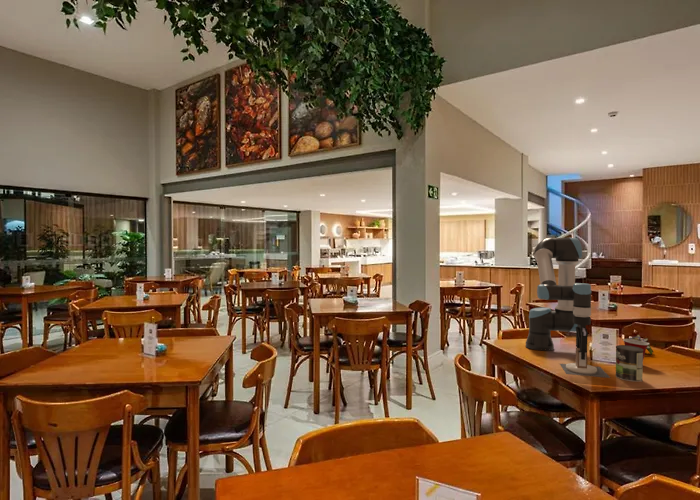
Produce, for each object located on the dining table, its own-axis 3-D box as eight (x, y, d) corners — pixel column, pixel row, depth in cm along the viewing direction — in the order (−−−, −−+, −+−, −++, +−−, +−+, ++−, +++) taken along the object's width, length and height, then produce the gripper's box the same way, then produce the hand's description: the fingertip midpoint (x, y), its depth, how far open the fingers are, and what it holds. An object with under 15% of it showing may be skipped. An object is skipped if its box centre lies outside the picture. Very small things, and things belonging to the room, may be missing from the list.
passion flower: (636, 363, 231) (621, 345, 233) (636, 355, 239) (622, 338, 242) (657, 355, 224) (641, 336, 226) (656, 347, 233) (641, 329, 235)
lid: (563, 365, 205) (563, 345, 205) (593, 367, 201) (593, 347, 201) (568, 372, 193) (569, 351, 193) (600, 375, 189) (600, 353, 189)
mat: (559, 364, 208) (559, 363, 208) (599, 367, 203) (599, 366, 203) (566, 374, 191) (566, 373, 191) (610, 379, 186) (610, 377, 186)
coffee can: (624, 382, 181) (625, 350, 181) (610, 375, 191) (610, 344, 191) (648, 382, 181) (649, 350, 181) (633, 375, 191) (633, 345, 191)
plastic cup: (653, 368, 203) (653, 343, 203) (628, 366, 205) (628, 342, 205) (642, 362, 214) (642, 339, 213) (619, 360, 216) (619, 337, 216)
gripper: (569, 312, 206) (568, 359, 207) (576, 318, 190) (576, 368, 190) (586, 313, 204) (585, 360, 204) (595, 319, 188) (594, 370, 188)
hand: (581, 364), depth 197 cm, fingers closed on lid, 4 cm apart
